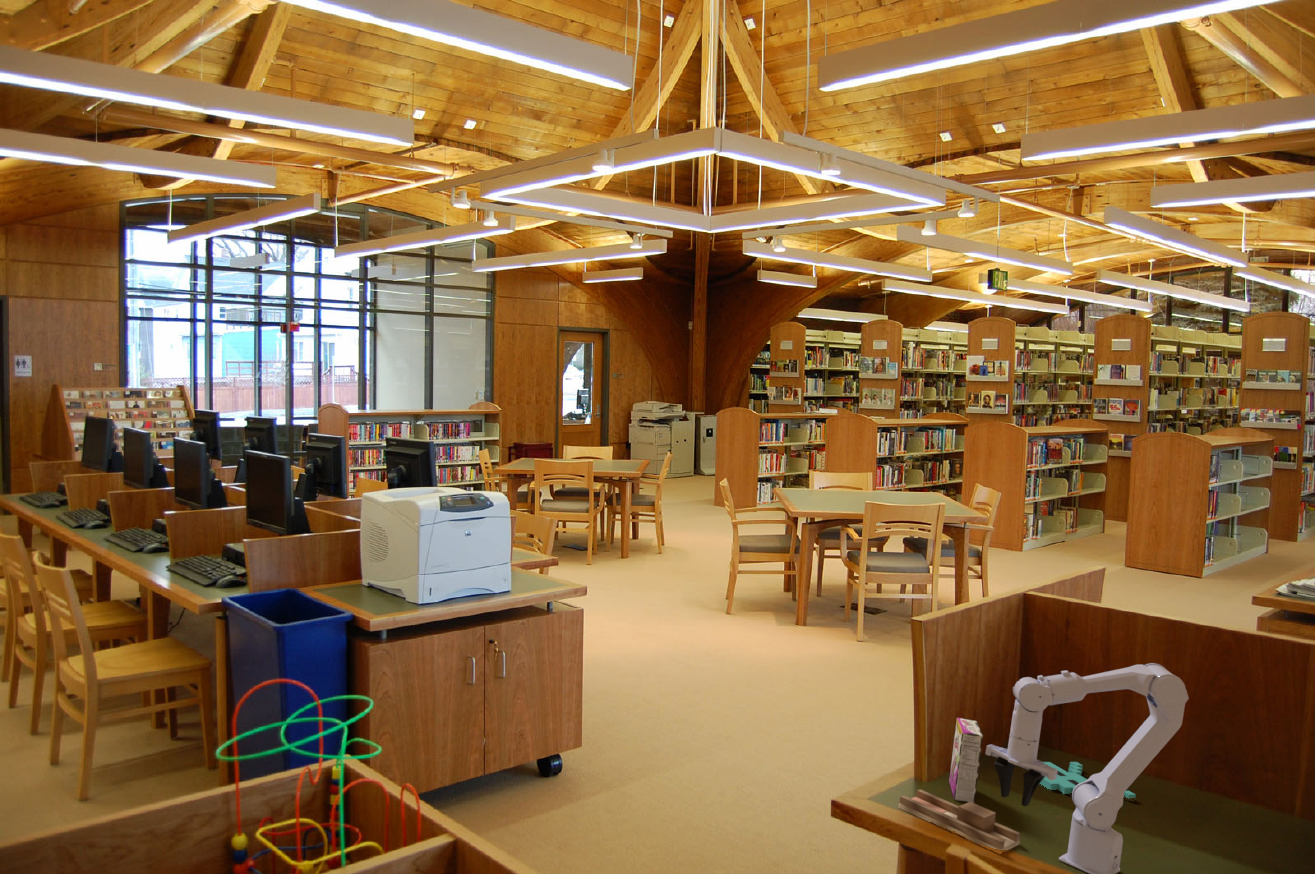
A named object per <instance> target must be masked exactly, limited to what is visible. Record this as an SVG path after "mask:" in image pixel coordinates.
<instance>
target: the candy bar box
mask: <svg viewBox="0 0 1315 874" xmlns="http://www.w3.org/2000/svg"><path fill="white" fill-rule="evenodd" d="M955 723H956V724H955V731H954V737H953V746H952V747H953V748H952V755H951V756H952V757H951V763H950V769H949V770H950V773H949V780H948V783H949V786H950V790H951V793H952V796H953V800H955V801H957V802H962V803H968V802H972V803H974V804H976V803H975V801H976V793H977V788H978V787H977V785H978V779H979V777H978V776H979V770H980V762H981V754H982V746H983V745H982V744H983V737H984V735H983V733H982V732H981V729H980V726H979V724H978V721H977V720H973V719H967V718H963V717H956V722H955Z"/></svg>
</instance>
